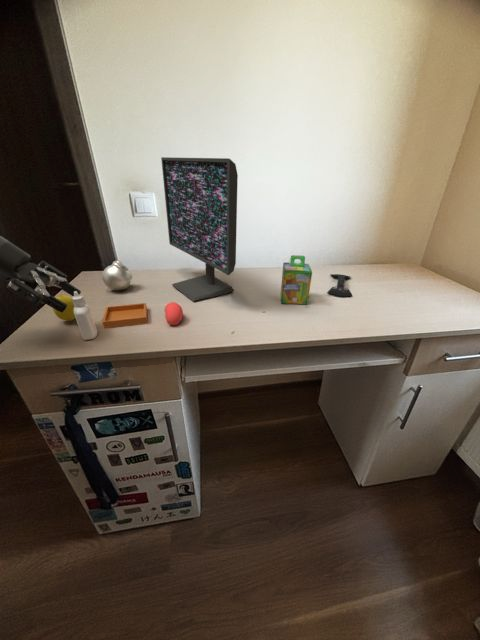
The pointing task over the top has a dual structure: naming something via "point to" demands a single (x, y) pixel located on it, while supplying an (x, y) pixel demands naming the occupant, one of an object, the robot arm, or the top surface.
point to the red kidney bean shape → (173, 313)
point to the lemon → (68, 312)
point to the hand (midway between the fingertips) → (72, 301)
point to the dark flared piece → (340, 286)
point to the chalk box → (296, 281)
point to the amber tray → (125, 315)
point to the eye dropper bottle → (84, 317)
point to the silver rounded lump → (117, 276)
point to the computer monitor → (202, 218)
